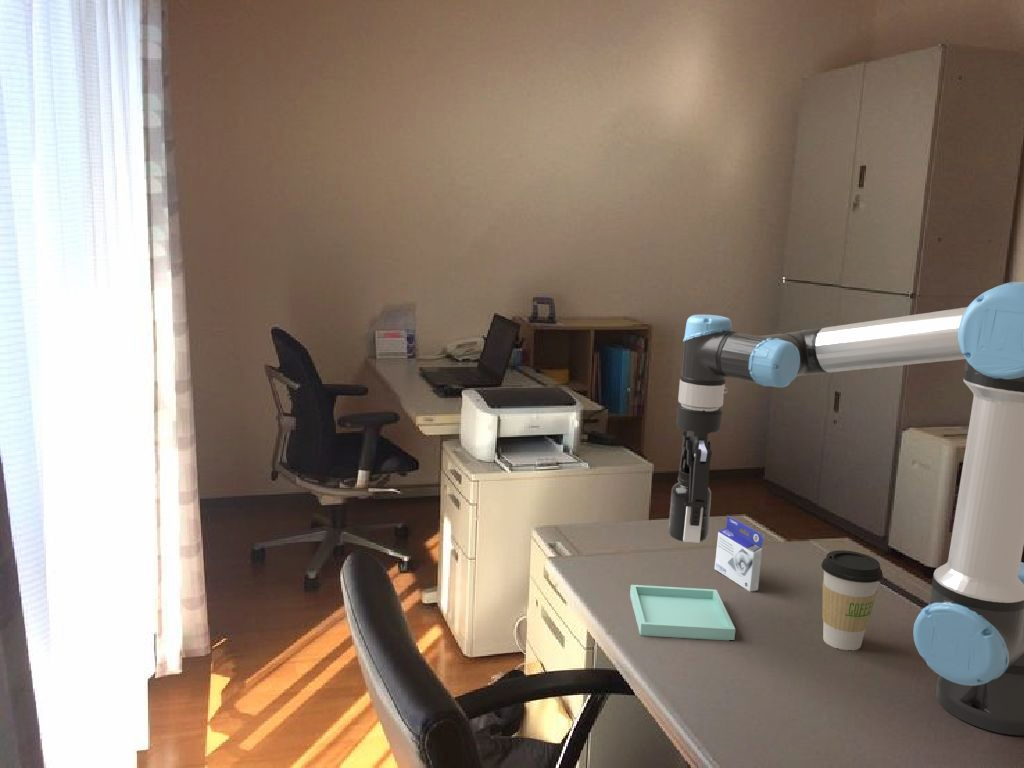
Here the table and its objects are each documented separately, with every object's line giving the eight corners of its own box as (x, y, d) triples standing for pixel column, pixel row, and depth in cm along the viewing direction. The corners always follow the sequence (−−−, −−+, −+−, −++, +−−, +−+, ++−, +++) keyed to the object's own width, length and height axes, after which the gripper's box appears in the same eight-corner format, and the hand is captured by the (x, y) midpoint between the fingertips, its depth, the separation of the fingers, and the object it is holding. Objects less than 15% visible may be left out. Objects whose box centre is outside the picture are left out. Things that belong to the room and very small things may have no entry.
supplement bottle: (705, 531, 163) (711, 466, 160) (709, 545, 156) (716, 478, 154) (666, 527, 163) (672, 463, 161) (668, 541, 157) (675, 475, 154)
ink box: (712, 569, 185) (718, 515, 183) (722, 568, 186) (727, 514, 184) (749, 593, 175) (755, 536, 172) (759, 591, 176) (765, 534, 173)
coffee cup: (877, 659, 151) (889, 575, 148) (815, 650, 153) (826, 567, 150) (867, 632, 161) (878, 553, 158) (809, 625, 162) (819, 545, 159)
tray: (734, 640, 155) (735, 629, 155) (640, 635, 155) (641, 623, 155) (715, 600, 171) (716, 589, 170) (629, 595, 171) (630, 584, 170)
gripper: (735, 421, 145) (720, 556, 150) (710, 394, 165) (698, 515, 169) (688, 418, 145) (675, 553, 150) (669, 392, 165) (658, 513, 169)
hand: (687, 533), depth 160 cm, fingers closed on supplement bottle, 7 cm apart
